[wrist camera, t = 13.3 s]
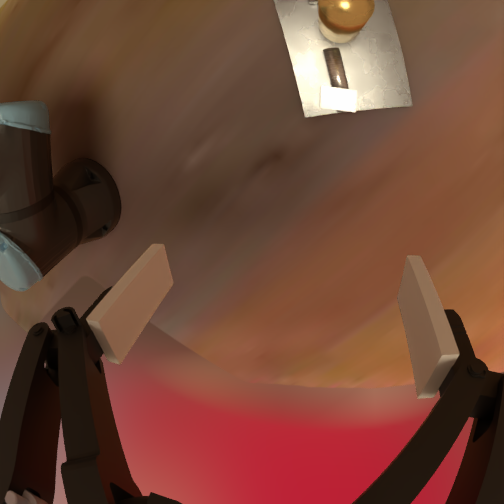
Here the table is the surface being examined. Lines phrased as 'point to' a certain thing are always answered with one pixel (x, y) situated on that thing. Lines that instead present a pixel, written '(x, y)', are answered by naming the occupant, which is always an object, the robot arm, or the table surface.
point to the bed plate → (344, 61)
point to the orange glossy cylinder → (343, 18)
